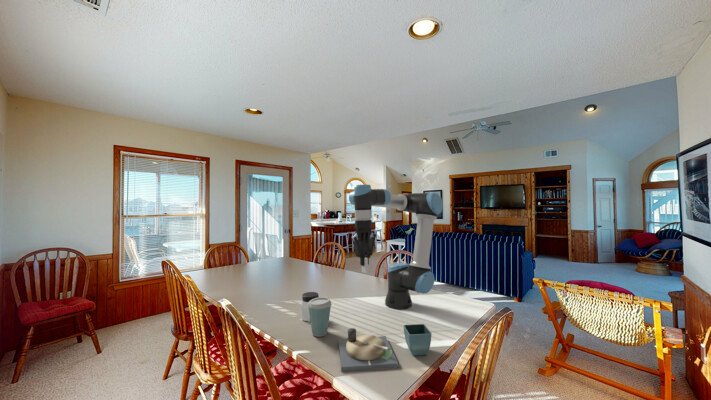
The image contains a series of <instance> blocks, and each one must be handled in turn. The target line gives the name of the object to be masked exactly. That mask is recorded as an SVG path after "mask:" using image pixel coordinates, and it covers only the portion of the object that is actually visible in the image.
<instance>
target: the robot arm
mask: <svg viewBox="0 0 711 400" xmlns="http://www.w3.org/2000/svg"><path fill="white" fill-rule="evenodd" d="M348 200H349V203H350V204H351V205H353V206H354V219H355V221H354V228H355V233H354V235H352V236H350V239H351V241H352V243H353V247H354V253H355V257H356V258H359V259H360V261H359V262H360V263H359V264H360V267H361V273H363V274H368V273H369V264H370V258H371V256H373V253H374V247H375V239H376V236H377V234H376V233H373V230H372V228H373V220H372V218H373V214H372V213H373V212H372V211H373V210H372V209H373V208H372V207H375V208H377V207H378V208H387V209H396V210H397V211H401V212H405V213H411V214H415V216H416V218H417V223H416V232H415V238H414V239H415V240H414V248H413V253H412V261H411V262H410V263H407V262H401V263H400V262H399V263H391V264H389V265H388V267H387V268H388V269H387V293H386V296H385V301H384V305H385V306H386V307H388V308H390V309H395V310H406V309H409V308H412V306H413V301H412V297H411V294H410V291H412V292H416V293H419V294H428V293H429V292H431V290H432V289H433V287H434V284H435V275H434V273H433V272H432V267H431V266H430V255H431V247H432V240H433V239H432V238H433V229H434V221H435V220H436V219H438V215H439V214H442V211H443V208H444V204H443V199H442V197H441V195H440V194H438V193H437V192H430V191H429V192H420V193H419V192H418V193H415V192H414V193H406V194H404V193H399V194H391V192H390V191H389V190H388V189H385V188H373V189H372V185H371V184H355V186H354V189H353V191H352V190H351V192H350V193H349V195H348Z"/></svg>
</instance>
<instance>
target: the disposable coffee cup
mask: <svg viewBox="0 0 711 400" xmlns="http://www.w3.org/2000/svg"><path fill="white" fill-rule="evenodd" d="M331 307H332V301H331V298H329V296H319V297H318V298H314V299H312V300H310V301H309V302H308V308H309V314H310V321H311V322H310V327H311V332H312V335H313V336H314V337H318V338H319V337H325V336H327V335H328V331H329V322H330V314H331Z"/></svg>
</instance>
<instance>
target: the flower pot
mask: <svg viewBox="0 0 711 400" xmlns="http://www.w3.org/2000/svg"><path fill="white" fill-rule="evenodd" d="M403 335H404V339H405V343H406V345H407V348H408V349H409V351H410V353H411V355H412V356H425V355H427V353H428V352H429V351H430V348H431V344H432V343H431V341H432V335H433V334H432V331H430V329H429V328H428V326H426V324H424V323H418V324H417V323H416V324H403Z"/></svg>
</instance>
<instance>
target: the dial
mask: <svg viewBox="0 0 711 400" xmlns="http://www.w3.org/2000/svg"><path fill="white" fill-rule="evenodd" d="M347 338H348V341H347V343H346V351H347V353H348V355H350V356H351V357H353V358H355V359H359V360H374V359H377V358H380V357H381V356H383V355H384V353H385V350H386V351H387V350H388V347H385V342H384V341H383V340H382V339H381V338H379V336H376V335H371V334H360V335H357V329H356V328H353V327H352V328H348V329H347Z"/></svg>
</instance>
